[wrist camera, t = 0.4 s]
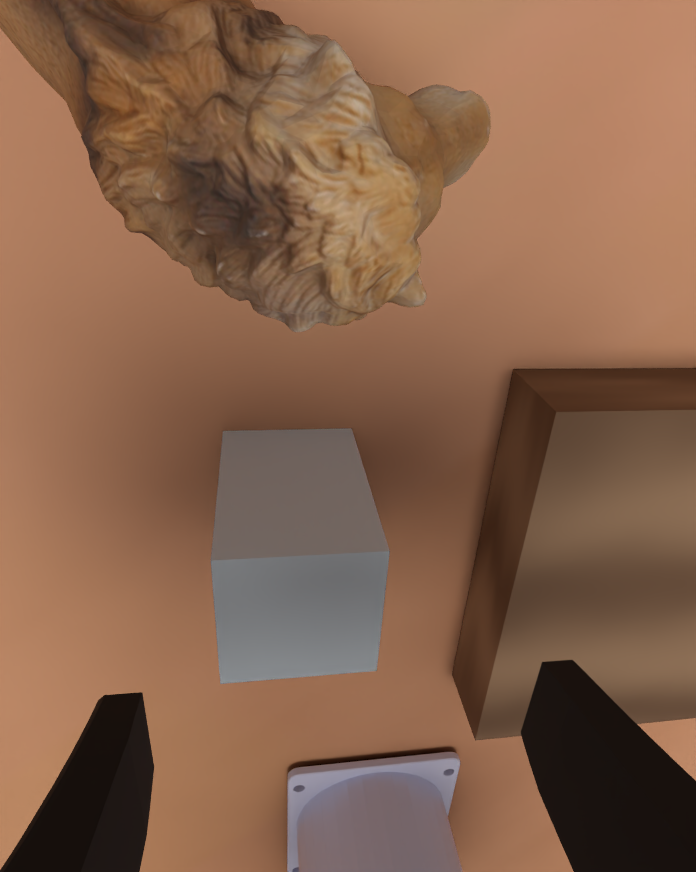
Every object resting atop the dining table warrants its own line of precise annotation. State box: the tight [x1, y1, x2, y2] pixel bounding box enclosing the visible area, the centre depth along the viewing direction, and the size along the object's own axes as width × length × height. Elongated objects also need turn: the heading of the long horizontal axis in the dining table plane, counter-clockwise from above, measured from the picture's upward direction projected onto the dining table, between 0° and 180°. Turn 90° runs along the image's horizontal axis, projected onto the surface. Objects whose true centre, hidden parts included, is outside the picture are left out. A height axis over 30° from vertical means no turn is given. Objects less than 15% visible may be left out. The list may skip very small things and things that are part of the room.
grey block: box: [211, 428, 390, 684], centre depth 17 cm, size 4×4×6 cm
